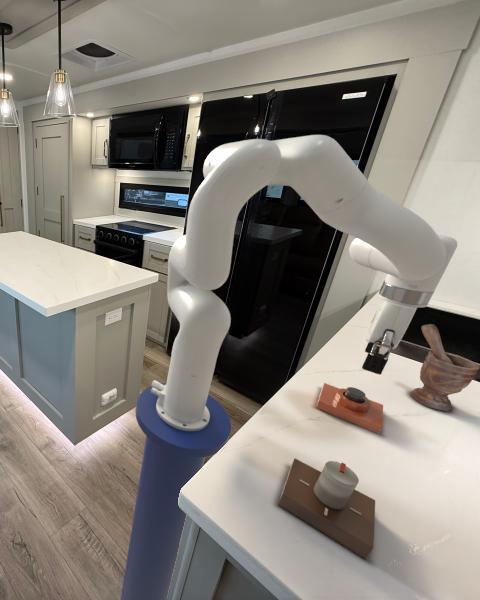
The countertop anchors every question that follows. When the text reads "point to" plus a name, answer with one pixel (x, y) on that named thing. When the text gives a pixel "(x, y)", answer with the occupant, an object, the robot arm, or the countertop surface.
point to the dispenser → (351, 408)
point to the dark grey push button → (354, 394)
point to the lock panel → (330, 510)
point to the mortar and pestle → (442, 373)
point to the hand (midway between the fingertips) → (372, 362)
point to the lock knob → (335, 484)
